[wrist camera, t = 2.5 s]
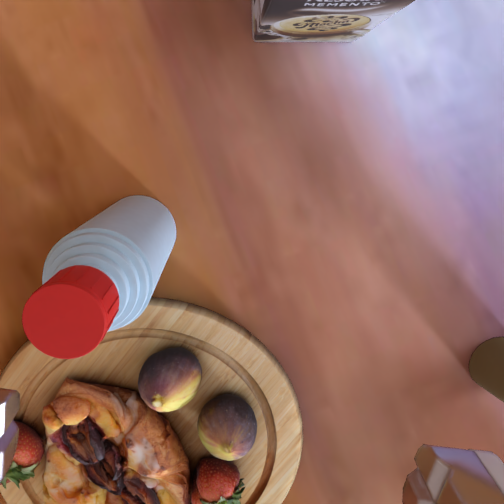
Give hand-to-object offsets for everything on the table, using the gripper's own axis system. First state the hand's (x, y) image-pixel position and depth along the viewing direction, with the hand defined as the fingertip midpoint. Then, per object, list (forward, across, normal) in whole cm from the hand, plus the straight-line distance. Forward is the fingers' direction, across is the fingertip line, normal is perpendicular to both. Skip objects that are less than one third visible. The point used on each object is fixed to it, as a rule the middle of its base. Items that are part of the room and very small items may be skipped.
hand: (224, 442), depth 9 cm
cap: (+16, -7, -6) cm, 19 cm away
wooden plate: (+33, -3, -29) cm, 44 cm away
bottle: (+34, -7, -8) cm, 36 cm away
